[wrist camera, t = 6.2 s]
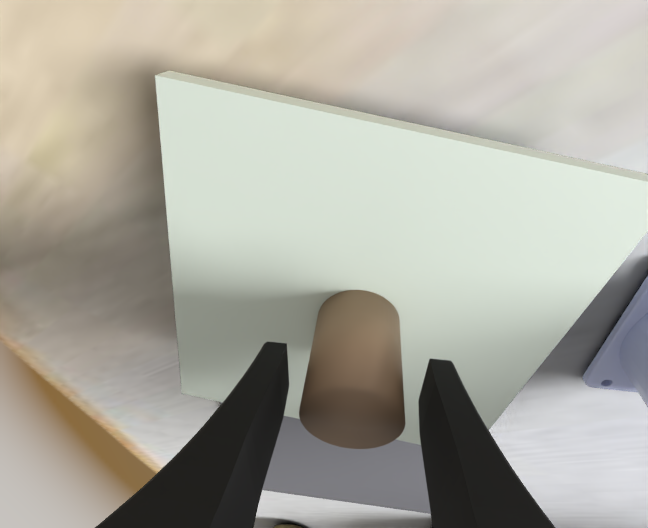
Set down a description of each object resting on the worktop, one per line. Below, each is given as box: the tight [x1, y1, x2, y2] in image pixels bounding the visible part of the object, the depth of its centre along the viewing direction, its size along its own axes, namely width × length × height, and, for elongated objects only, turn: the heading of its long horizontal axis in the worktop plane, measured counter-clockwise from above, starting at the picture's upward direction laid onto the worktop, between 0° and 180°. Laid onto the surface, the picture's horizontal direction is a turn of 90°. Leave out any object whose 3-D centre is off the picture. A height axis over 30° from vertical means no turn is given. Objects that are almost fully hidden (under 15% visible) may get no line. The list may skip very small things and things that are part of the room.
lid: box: [155, 71, 648, 449], centre depth 13 cm, size 14×14×5 cm
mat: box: [220, 402, 431, 514], centre depth 26 cm, size 17×17×1 cm
